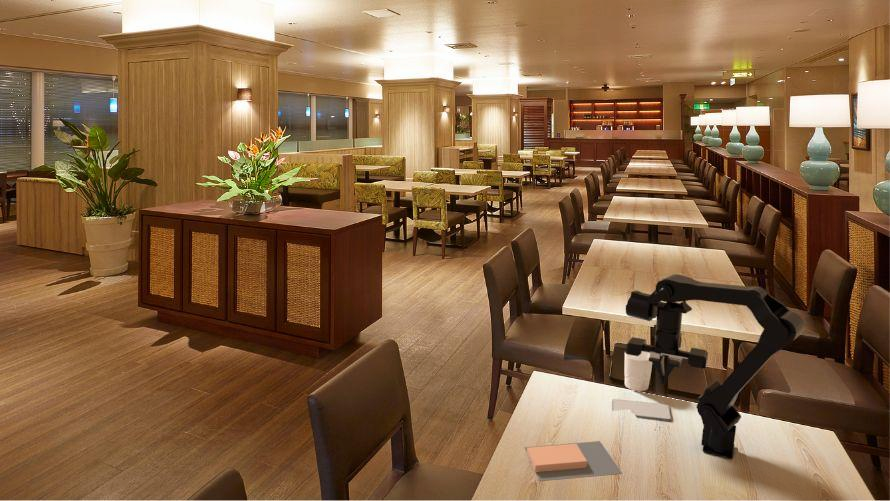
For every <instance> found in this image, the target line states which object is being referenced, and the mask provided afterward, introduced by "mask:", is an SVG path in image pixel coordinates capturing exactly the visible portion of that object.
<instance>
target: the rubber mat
mask: <svg viewBox="0 0 890 501" xmlns="http://www.w3.org/2000/svg"><path fill="white" fill-rule="evenodd" d="M567 444H568V443H560V444H557V445H567ZM569 444H577V446H578V447H579V449H580V450H581V452H582V454H583V455H584V457H585V459H586V460H587V467H586V468H576V469H564V470H553V471H541V472H536V471H535V470H534V472H535V474H536V476H537V479H538V481H539V482H542V481H543V482H544V481H554V480H555V481H557V480H565V479H566V480H567V479H568V480H569V479H576V478H579V479H580V478H591V477H598V476H599V477H601V476H610V475H622V474H623V472H622V471H621V469H620V468H619V467H618V465H617V463H616V462H615V461H614V459H613V458H612V456H611V455H610V453H609V452H608V451H607V449H606V447H605V446H604V445H603V443H602V442H601V441H600V440H597V441H585V442H584V441H583V442H571V443H569ZM555 445H556V444H549V445H546V444H545V446H555ZM542 446H543V445H534V446H533V447H542ZM530 447H531V446H524V450H525V452H526V453H527V448H530ZM531 465H532V464H531ZM532 467H533V465H532Z"/></svg>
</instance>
